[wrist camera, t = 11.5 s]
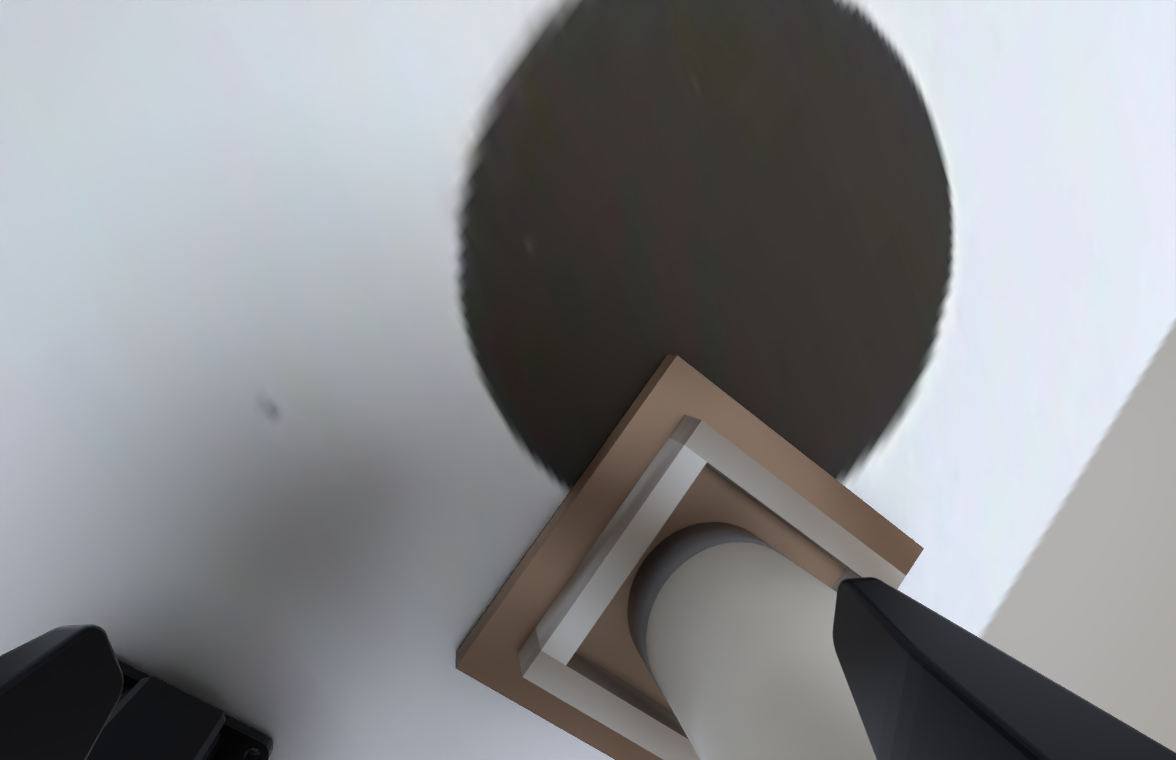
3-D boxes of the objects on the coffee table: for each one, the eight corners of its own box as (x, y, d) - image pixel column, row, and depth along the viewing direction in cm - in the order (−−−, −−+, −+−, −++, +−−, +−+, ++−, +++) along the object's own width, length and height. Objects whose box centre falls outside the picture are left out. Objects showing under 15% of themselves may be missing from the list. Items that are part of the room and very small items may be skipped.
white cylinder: (721, 712, 22) (1025, 1154, 10) (593, 632, 20) (769, 1030, 9) (812, 576, 22) (1208, 846, 10) (693, 489, 21) (988, 685, 9)
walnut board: (727, 809, 23) (758, 865, 21) (456, 652, 20) (454, 694, 18) (904, 540, 24) (955, 562, 22) (667, 354, 21) (693, 356, 19)
